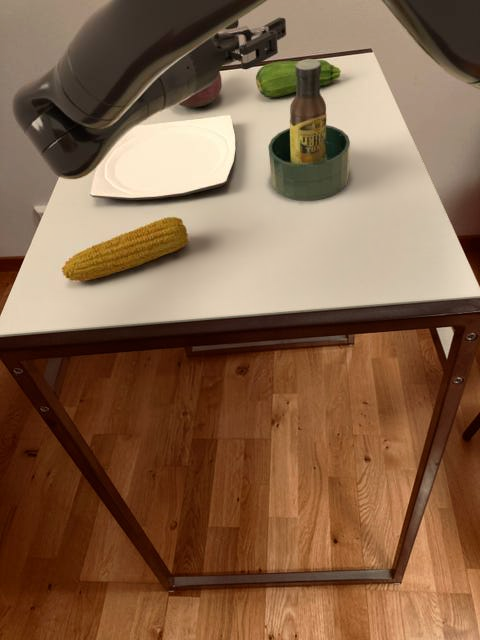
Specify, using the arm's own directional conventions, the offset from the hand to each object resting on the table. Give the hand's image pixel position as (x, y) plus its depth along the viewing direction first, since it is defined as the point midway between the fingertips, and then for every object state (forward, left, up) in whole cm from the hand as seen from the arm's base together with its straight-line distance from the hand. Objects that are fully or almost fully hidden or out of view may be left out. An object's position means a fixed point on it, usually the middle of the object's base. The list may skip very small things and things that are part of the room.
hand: (259, 21), depth 69 cm
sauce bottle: (-4, -9, -29) cm, 31 cm away
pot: (-4, -9, -30) cm, 32 cm away
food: (+20, +19, -30) cm, 41 cm away
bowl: (+30, -39, -30) cm, 58 cm away
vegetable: (+6, -45, -30) cm, 55 cm away
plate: (+26, -11, -30) cm, 41 cm away
